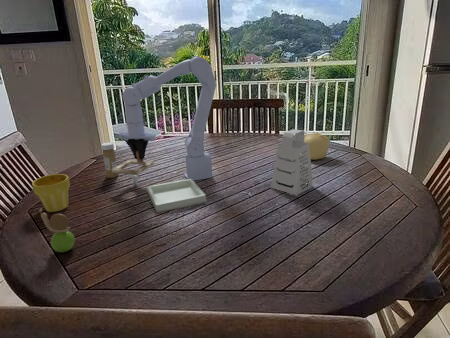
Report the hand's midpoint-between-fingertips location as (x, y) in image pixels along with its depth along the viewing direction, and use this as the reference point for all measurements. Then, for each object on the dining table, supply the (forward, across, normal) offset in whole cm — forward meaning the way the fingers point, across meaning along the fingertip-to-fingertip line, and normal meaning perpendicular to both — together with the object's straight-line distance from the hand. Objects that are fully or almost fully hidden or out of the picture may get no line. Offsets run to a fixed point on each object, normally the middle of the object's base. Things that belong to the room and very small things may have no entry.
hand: (139, 158), depth 123 cm
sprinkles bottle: (+10, -16, +1) cm, 18 cm away
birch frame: (+2, 0, -4) cm, 5 cm away
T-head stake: (+9, 0, -4) cm, 10 cm away
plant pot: (+10, -14, -27) cm, 32 cm away
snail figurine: (+10, +8, -45) cm, 46 cm away
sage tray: (+9, +19, -8) cm, 23 cm away
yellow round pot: (+10, +56, +47) cm, 74 cm away
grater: (+10, +54, +12) cm, 56 cm away
